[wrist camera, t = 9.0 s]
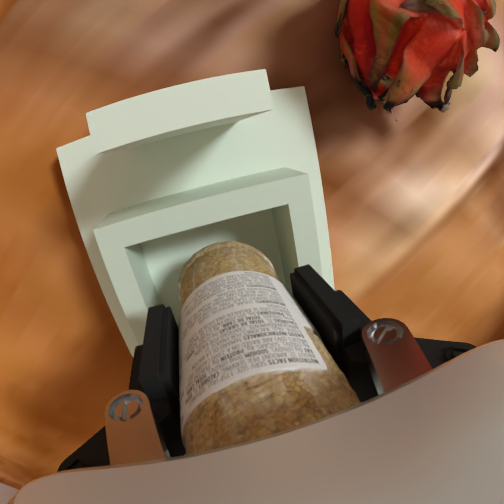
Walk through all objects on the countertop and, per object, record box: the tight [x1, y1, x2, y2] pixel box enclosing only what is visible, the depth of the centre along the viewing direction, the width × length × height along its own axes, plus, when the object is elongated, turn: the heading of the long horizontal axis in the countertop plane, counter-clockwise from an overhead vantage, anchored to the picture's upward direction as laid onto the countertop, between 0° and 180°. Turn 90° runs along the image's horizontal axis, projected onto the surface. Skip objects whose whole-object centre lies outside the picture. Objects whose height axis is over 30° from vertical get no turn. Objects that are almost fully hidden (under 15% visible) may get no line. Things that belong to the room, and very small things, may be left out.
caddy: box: [56, 69, 334, 357], centre depth 14 cm, size 12×16×7 cm
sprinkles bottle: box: [177, 241, 361, 455], centre depth 8 cm, size 5×5×14 cm
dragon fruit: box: [335, 0, 500, 121], centre depth 11 cm, size 8×8×12 cm
